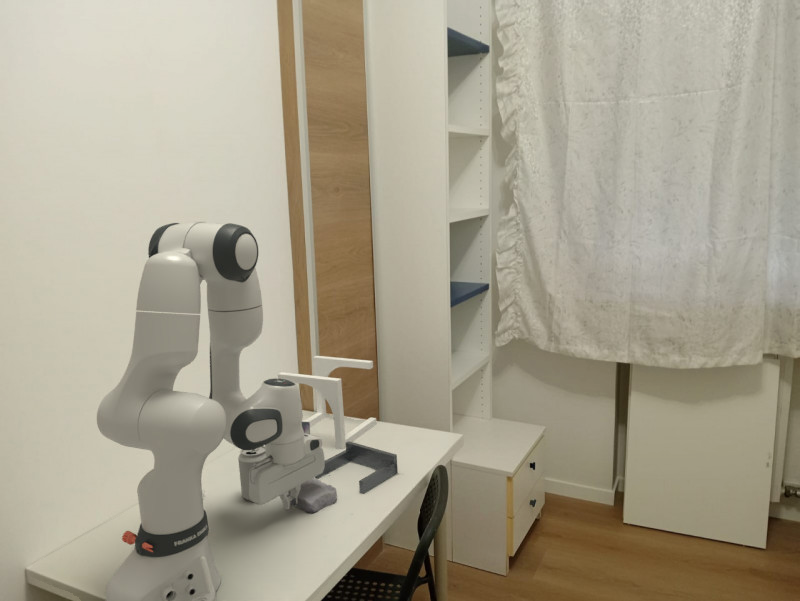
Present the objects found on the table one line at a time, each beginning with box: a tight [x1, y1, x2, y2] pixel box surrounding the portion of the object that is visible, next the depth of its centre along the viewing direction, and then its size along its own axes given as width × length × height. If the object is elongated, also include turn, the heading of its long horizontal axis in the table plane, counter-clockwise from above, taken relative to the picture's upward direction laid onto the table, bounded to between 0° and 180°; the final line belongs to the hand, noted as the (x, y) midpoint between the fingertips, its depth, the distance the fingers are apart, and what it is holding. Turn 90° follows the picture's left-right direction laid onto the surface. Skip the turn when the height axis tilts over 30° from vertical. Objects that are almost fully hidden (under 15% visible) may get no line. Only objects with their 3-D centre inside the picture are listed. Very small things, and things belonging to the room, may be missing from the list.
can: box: [237, 445, 266, 502], centre depth 163 cm, size 8×8×12 cm
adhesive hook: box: [202, 489, 206, 499], centre depth 164 cm, size 3×3×3 cm
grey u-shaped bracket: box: [314, 441, 398, 494], centre depth 172 cm, size 13×16×5 cm
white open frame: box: [277, 355, 377, 450], centre depth 200 cm, size 20×20×20 cm
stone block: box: [287, 477, 338, 514], centre depth 161 cm, size 12×5×10 cm
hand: (290, 505), depth 155 cm, fingers closed
